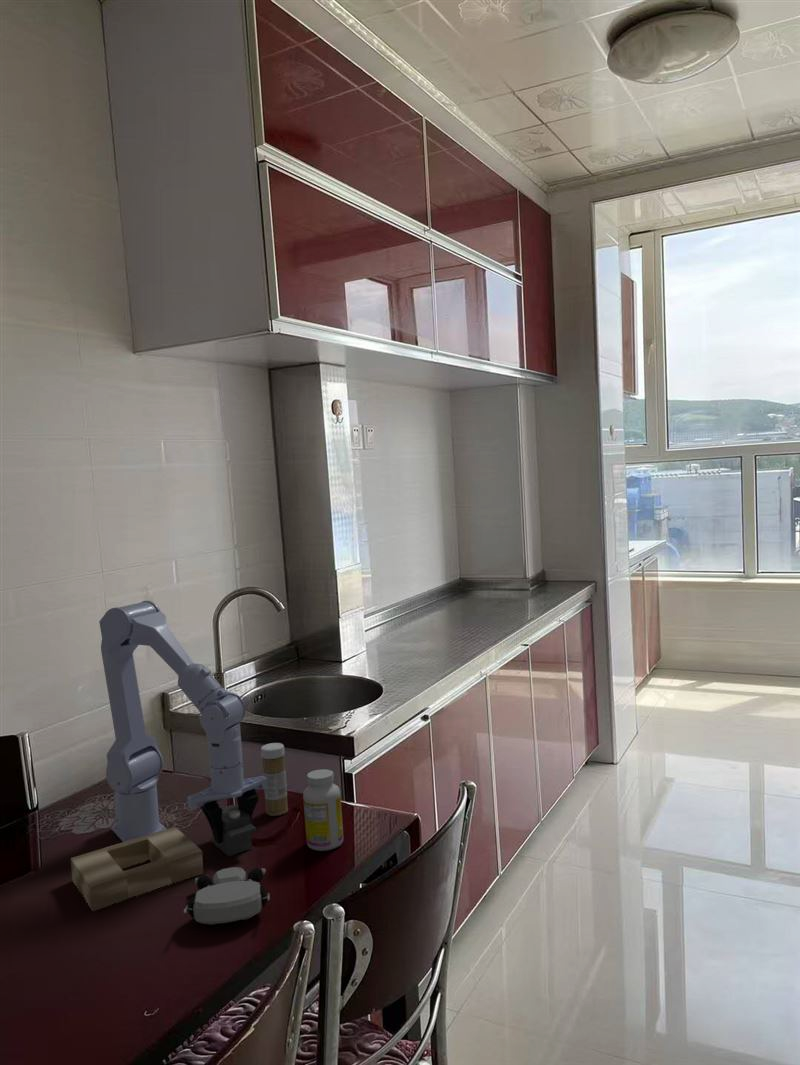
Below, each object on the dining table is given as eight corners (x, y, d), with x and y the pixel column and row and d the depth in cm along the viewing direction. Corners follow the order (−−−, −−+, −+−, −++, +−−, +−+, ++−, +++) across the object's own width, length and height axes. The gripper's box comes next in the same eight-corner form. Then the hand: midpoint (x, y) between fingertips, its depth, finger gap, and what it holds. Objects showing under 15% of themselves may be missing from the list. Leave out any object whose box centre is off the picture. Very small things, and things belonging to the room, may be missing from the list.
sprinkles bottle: (281, 805, 160) (276, 740, 159) (292, 812, 156) (288, 745, 155) (261, 812, 157) (256, 746, 156) (272, 819, 153) (267, 751, 153)
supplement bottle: (332, 832, 146) (328, 764, 145) (350, 844, 140) (346, 773, 139) (300, 843, 142) (295, 773, 141) (317, 856, 136) (312, 783, 136)
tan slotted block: (72, 880, 133) (70, 858, 132) (176, 847, 143) (174, 826, 143) (92, 911, 122) (90, 887, 122) (203, 873, 133) (201, 850, 132)
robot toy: (193, 896, 127) (184, 940, 112) (191, 868, 127) (182, 908, 112) (269, 885, 129) (271, 926, 115) (267, 857, 129) (269, 895, 115)
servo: (207, 838, 146) (205, 803, 146) (230, 831, 149) (227, 796, 148) (234, 861, 136) (231, 823, 136) (258, 853, 139) (255, 815, 138)
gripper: (195, 779, 134) (201, 857, 135) (272, 758, 143) (277, 832, 143) (181, 769, 140) (186, 843, 141) (256, 749, 148) (260, 820, 149)
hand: (231, 837), depth 142 cm, fingers closed on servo, 4 cm apart
